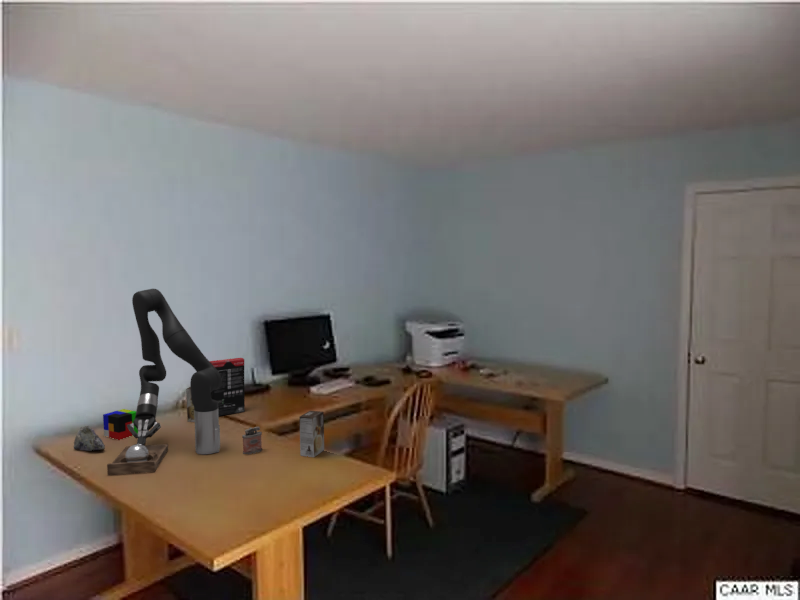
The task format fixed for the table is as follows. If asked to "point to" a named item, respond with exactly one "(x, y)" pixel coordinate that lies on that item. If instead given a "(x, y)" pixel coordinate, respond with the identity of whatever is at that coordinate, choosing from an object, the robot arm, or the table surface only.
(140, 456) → the steel ball
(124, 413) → the puzzle toy
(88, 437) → the mineral rock
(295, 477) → the table surface
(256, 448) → the lighter
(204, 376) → the robot arm
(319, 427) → the coffee box
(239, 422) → the table surface
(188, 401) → the coffee box
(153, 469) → the wooden ball holder
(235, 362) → the graphics card box
